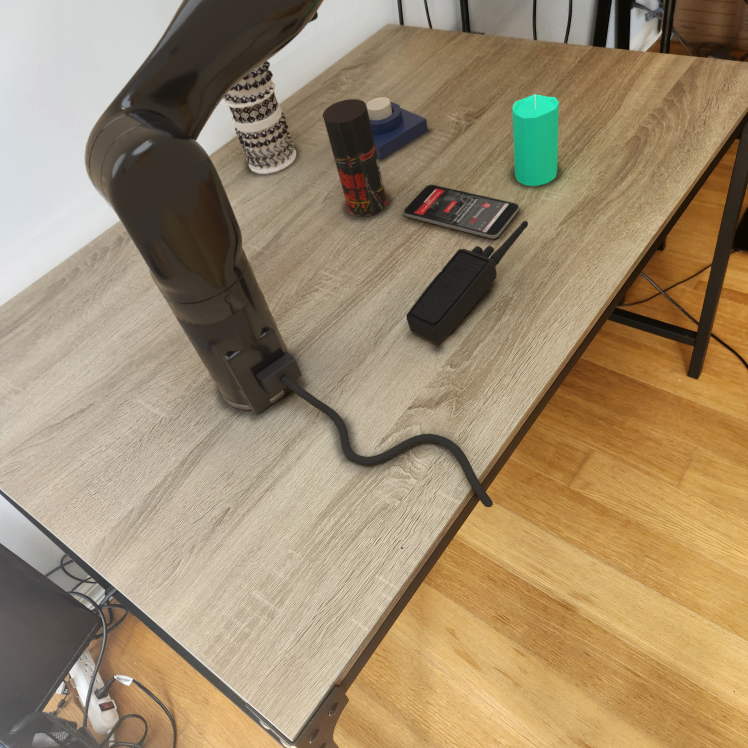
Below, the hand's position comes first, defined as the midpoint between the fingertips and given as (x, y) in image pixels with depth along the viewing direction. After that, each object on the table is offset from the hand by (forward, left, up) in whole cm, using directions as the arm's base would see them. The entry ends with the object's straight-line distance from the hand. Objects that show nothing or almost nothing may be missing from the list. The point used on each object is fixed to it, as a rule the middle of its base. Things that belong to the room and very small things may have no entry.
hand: (309, 19), depth 90 cm
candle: (-29, -14, -22) cm, 39 cm away
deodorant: (-14, +6, -22) cm, 26 cm away
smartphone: (-27, -1, -22) cm, 34 cm away
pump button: (-1, -8, -18) cm, 20 cm away
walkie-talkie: (-39, +9, -22) cm, 46 cm away
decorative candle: (+10, +8, -22) cm, 25 cm away
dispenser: (-1, -8, -22) cm, 23 cm away
